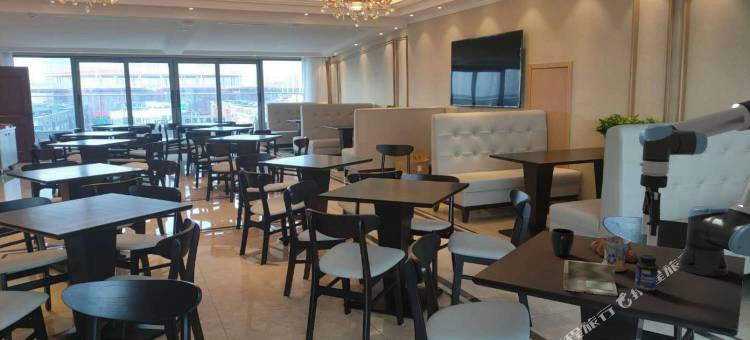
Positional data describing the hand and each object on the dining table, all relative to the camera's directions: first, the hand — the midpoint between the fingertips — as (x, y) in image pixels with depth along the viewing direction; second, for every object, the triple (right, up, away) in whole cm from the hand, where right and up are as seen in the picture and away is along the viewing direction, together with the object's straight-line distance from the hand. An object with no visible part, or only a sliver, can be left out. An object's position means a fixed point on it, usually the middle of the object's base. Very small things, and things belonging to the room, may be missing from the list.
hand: (648, 239), depth 171 cm
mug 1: (-15, -11, +36) cm, 41 cm away
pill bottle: (0, -17, +2) cm, 17 cm away
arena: (-17, -16, +5) cm, 24 cm away
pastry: (+5, -11, +38) cm, 40 cm away
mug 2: (-1, -13, +23) cm, 26 cm away
